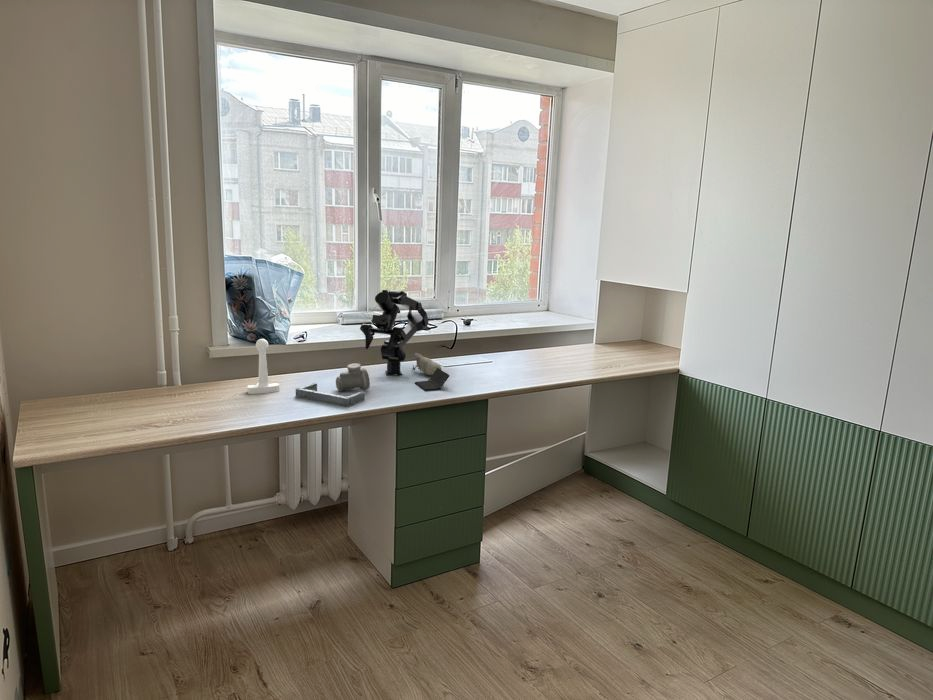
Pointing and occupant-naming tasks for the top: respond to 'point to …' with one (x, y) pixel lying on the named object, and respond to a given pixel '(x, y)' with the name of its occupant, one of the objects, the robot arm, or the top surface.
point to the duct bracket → (328, 396)
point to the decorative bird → (426, 365)
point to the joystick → (262, 372)
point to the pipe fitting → (353, 378)
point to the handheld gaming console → (434, 381)
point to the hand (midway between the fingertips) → (376, 350)
